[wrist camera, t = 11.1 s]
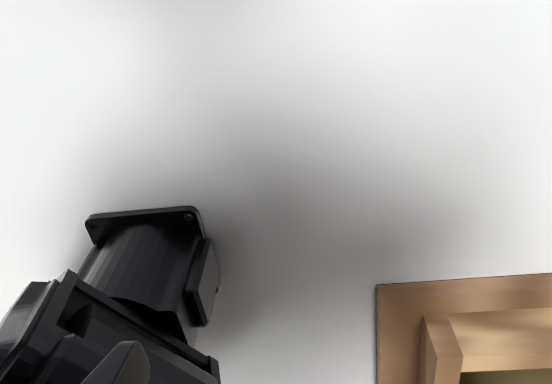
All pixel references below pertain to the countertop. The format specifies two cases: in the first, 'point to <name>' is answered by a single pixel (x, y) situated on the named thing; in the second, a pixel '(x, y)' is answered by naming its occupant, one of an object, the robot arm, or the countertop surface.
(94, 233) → the robot arm
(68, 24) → the countertop surface
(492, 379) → the cork
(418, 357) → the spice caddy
